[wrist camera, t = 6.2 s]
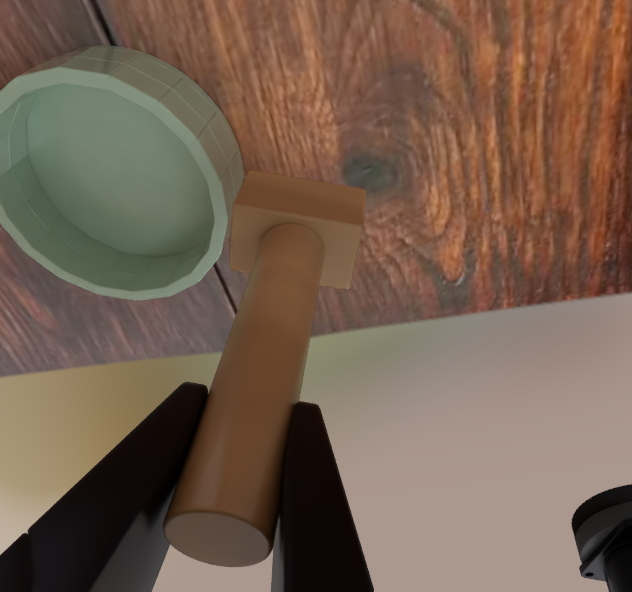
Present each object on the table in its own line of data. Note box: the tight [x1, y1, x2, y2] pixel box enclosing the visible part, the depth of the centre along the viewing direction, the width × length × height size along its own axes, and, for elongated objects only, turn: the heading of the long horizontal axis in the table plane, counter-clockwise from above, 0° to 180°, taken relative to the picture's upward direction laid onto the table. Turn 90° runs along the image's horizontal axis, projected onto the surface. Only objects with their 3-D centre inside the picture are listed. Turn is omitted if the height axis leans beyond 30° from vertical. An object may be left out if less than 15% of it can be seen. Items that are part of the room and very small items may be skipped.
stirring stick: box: [163, 170, 366, 567], centre depth 11 cm, size 2×3×10 cm, turn 83°
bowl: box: [0, 45, 244, 301], centre depth 21 cm, size 9×9×3 cm
